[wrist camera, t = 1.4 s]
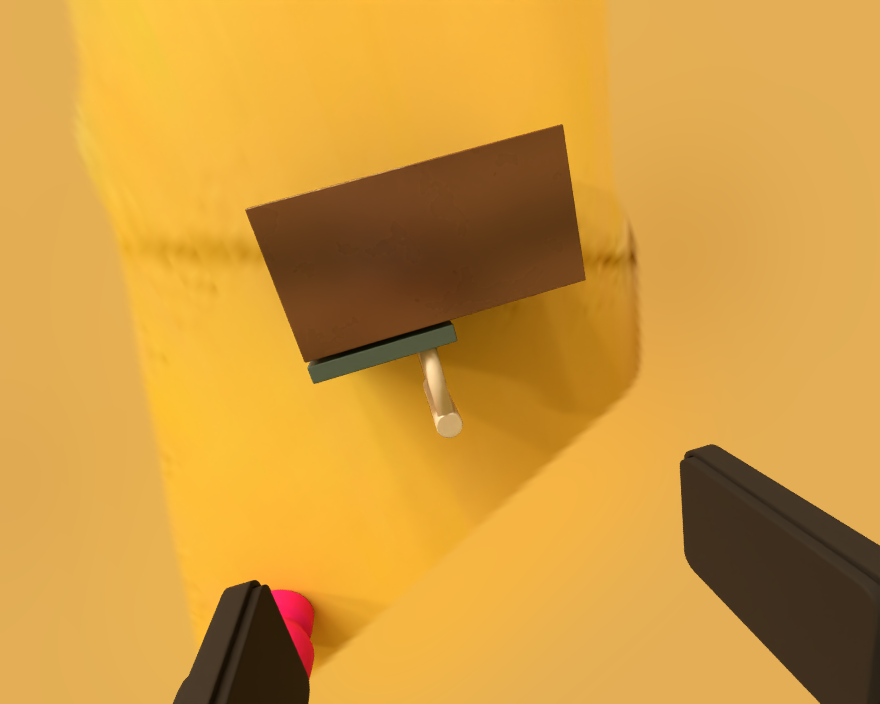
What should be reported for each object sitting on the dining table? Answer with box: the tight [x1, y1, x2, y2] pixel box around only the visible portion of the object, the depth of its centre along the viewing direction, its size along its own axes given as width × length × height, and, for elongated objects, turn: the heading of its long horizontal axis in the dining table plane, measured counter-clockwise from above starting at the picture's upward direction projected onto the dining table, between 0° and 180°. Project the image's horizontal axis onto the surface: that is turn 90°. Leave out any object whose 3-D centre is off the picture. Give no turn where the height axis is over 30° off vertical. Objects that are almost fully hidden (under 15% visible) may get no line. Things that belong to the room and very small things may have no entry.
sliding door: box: [308, 320, 463, 438], centre depth 28 cm, size 7×8×10 cm
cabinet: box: [245, 124, 585, 362], centre depth 26 cm, size 8×16×10 cm, turn 105°
